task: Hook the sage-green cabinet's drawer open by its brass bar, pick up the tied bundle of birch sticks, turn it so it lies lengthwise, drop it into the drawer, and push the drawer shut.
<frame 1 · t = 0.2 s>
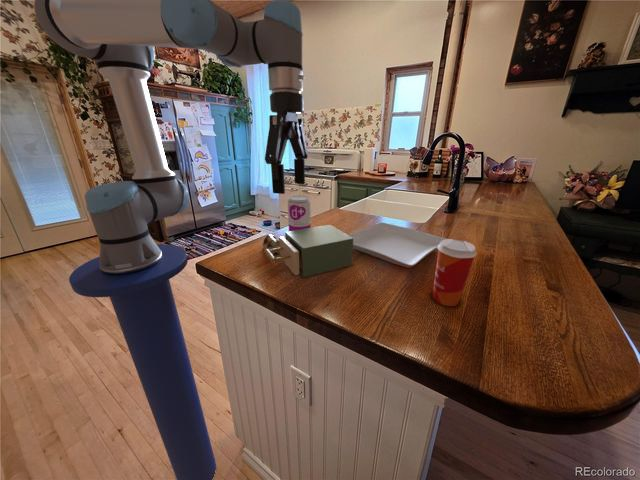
hand: (290, 188, 65), 23 cm above the counter, tool pointing down, fingers open, 13 cm apart
cabinet: (318, 261, 78), on the counter
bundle: (272, 250, 85), on the counter
square plate: (392, 249, 87), on the counter
paper cup: (445, 299, 60), on the counter
supplement can: (300, 237, 97), on the counter
drawer: (301, 251, 74), point 4 cm above the counter, slide at 1.0 cm
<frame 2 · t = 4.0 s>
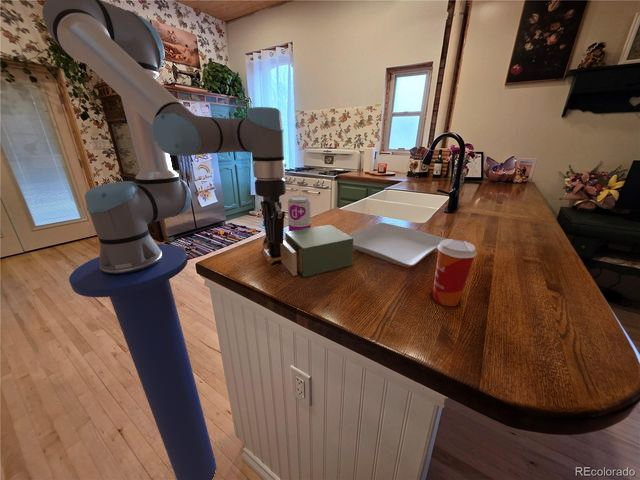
hand: (275, 263, 72), 2 cm above the counter, tool pointing down, fingers closed
drawer: (299, 252, 74), point 4 cm above the counter, slide at 1.7 cm, touching gripper
everything else where it was.
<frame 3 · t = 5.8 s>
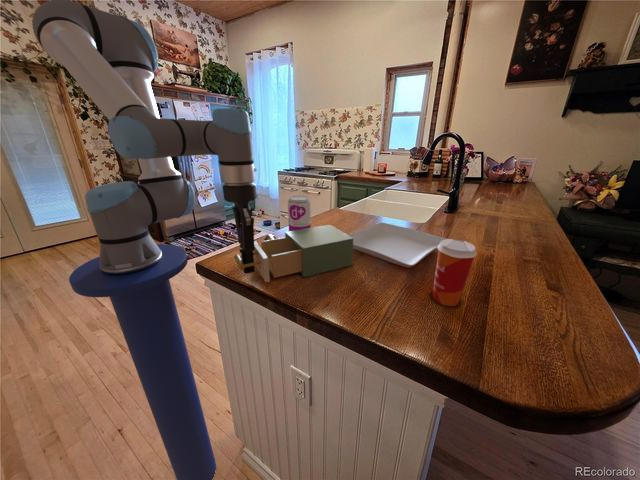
hand: (249, 271, 69), 2 cm above the counter, tool pointing down, fingers closed
drawer: (274, 257, 71), point 4 cm above the counter, slide at 9.2 cm, touching gripper
everything else where it was.
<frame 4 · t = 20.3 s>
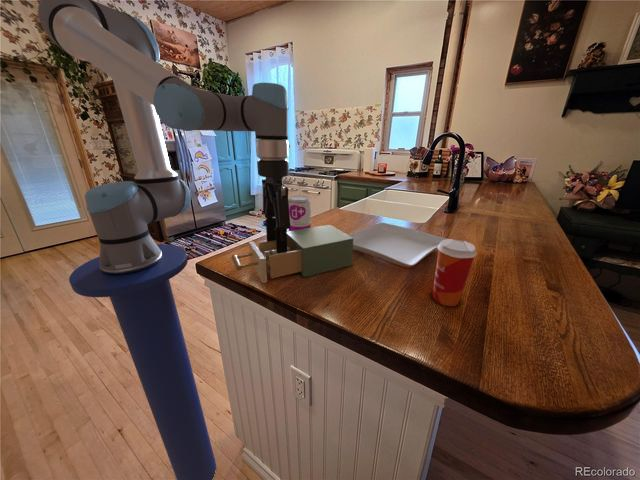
hand: (276, 245, 70), 8 cm above the counter, tool pointing down, fingers open, 8 cm apart
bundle: (277, 264, 72), point 2 cm above the counter, touching drawer
drawer: (271, 258, 70), point 4 cm above the counter, slide at 9.9 cm, touching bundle, gripper
everything else where it was.
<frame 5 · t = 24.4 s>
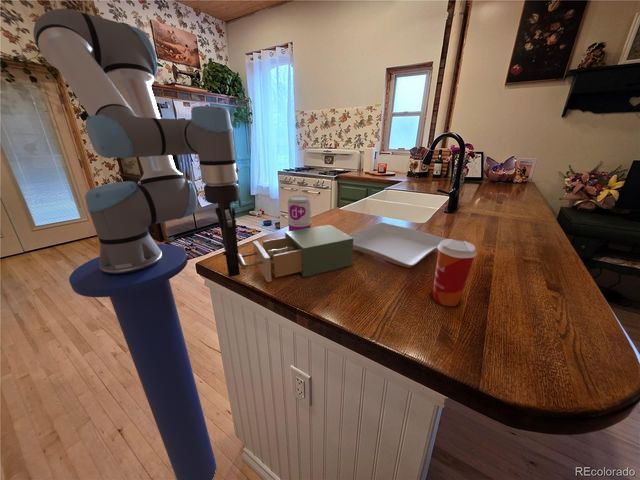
hand: (234, 274, 67), 2 cm above the counter, tool pointing down, fingers closed
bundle: (281, 263, 72), point 2 cm above the counter, touching drawer
drawer: (275, 257, 71), point 4 cm above the counter, slide at 8.7 cm, touching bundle, gripper
everything else where it was.
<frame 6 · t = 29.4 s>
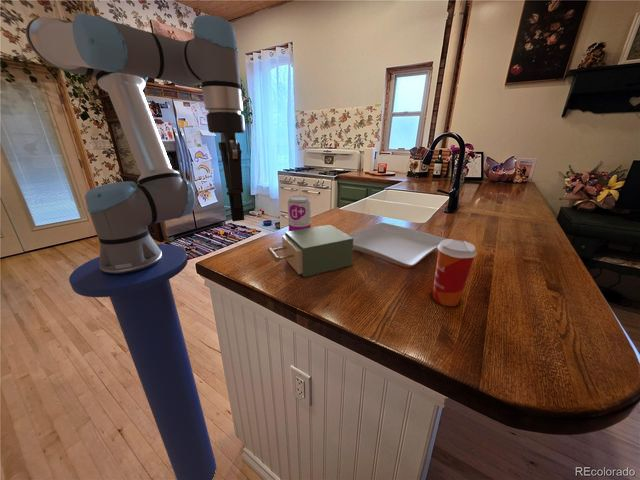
hand: (238, 219, 62), 16 cm above the counter, tool pointing down, fingers closed
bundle: (309, 257, 76), point 2 cm above the counter, touching drawer
drawer: (304, 251, 75), point 4 cm above the counter, slide at 0.0 cm, touching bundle, cabinet
everything else where it was.
at the end: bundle inside the target area in the cabinet (2.8 cm from its centre), point 2.0 cm above the cabinet's base; drawer slide at 0.0 cm; the gripper is holding nothing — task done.
